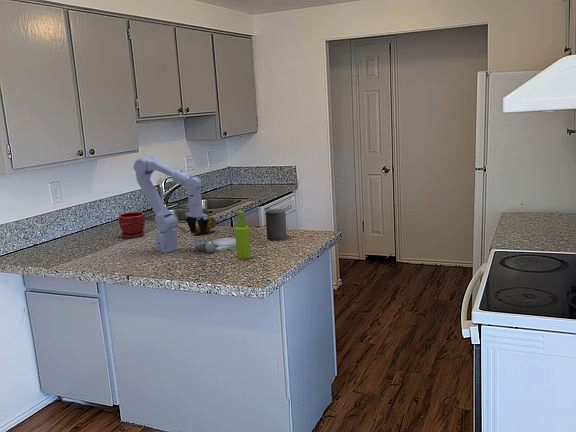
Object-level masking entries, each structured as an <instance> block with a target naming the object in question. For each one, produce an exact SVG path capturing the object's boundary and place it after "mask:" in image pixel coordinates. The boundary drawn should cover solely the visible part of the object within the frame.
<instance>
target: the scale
mask: <svg viewBox="0 0 576 432" xmlns="http://www.w3.org/2000/svg"><path fill="white" fill-rule="evenodd" d="M212 241H214V249H215V252H219V253H220V252H223V251H227V250H230V249H234V248H237V247H236V237H223V238H218V239H217V238H216V239H213V240H212ZM204 249H205V242H204Z"/></svg>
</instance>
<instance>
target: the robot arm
mask: <svg viewBox="0 0 576 432" xmlns="http://www.w3.org/2000/svg"><path fill="white" fill-rule="evenodd" d="M133 170H134V171H135V176H136V177H135V178H136V181H137V184H138V186H140V189H141V191H142V193H143V194H144V196H145V198H146V199H147V202H148V203H149V204H150V206H151V208H152V210H153V212H154V213H155V217H154V220H155V222H156V228H157V229H158V231H159V232H158V233H156V234H155V246H156V247H155V248H156V249H155V251H157V252H161V253H165V254H166V253H168V252H173V251H177V250H181V249H183V247H182V246H179V242H178V234H177V233H178V232H177V231H178V230H177V227H178V226H179V218H178V217H177V216H176V215H175V214H174V213H173V211H171V210H169V209H168V208H167V206H166V205H165V204H164V202H163V200H162V198H161V196H160V195H159V193H158V191H157V189H156V187H155V186H154V184H153V182H152V180H151V177H152V175H153V173H154V171H157V172H160V173H162V174H164V175H166V176H168V177H171V179H172V181H173V182H175V183H176V184H179V185H180V186H183V188H184V189H185V190H186V192H187V199H188V207H189V210H188V212H185V218H184V221H185V223H186V224H187V226H188V228H189V231H190V234H194V233H195V232H196V226H197V225H199V228H200V233H201V234H200V235H201V236H204V235H206V233H207V232H206V228H207V224H208V222H209V219H208V217H209V214H206V213H204V211H203V204H202V203H203V201H202V193H201V188H202V186H203V183H202V182H203V181H202V179H201V178H200V177H198V176H193V175H192V174H189V173H186V172H185V171H184V170H183V169H181V168H180V169H176V170H175V169H173V168H171V167H170V166H168V165H166V164H165V163H164V162H161V161H160V160H159V159H157V158H155V157H152V156H148V157H143V158H138V159H136V160H135V161H134V164H133Z"/></svg>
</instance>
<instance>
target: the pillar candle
mask: <svg viewBox="0 0 576 432" xmlns="http://www.w3.org/2000/svg"><path fill="white" fill-rule="evenodd" d="M264 213H265V226H266V229H265V230H266V239H267V241H273V242H274V241H283V240H286V239H287V238H288V234H287V219H286V217H287V216H286V215H287V214H286V209H284V208H270V209H266V210H265V211H264Z"/></svg>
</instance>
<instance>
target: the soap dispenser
mask: <svg viewBox="0 0 576 432" xmlns="http://www.w3.org/2000/svg"><path fill="white" fill-rule="evenodd" d="M232 213H233V214H238V218H237V219H236V221H237V226H235V227H234V233H235V238H236V247H235V248H236V254H237V256H236V258H237V259H238V260H248V259H251V258H252V250H251V235H250V226H248V225H247V223H246V218H244V214H245V211H244V210H236V211H232Z"/></svg>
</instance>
